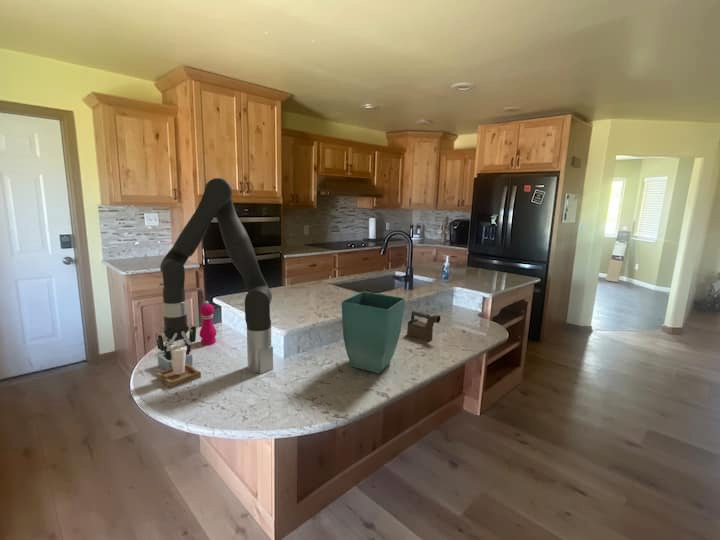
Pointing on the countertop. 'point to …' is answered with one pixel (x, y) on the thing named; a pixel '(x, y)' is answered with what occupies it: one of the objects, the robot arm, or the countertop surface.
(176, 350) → the smoothie
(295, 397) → the countertop surface
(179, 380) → the tray
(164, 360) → the holder
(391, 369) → the countertop surface
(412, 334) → the dark brown boxy piece
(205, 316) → the pepper mill
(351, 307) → the flower pot
